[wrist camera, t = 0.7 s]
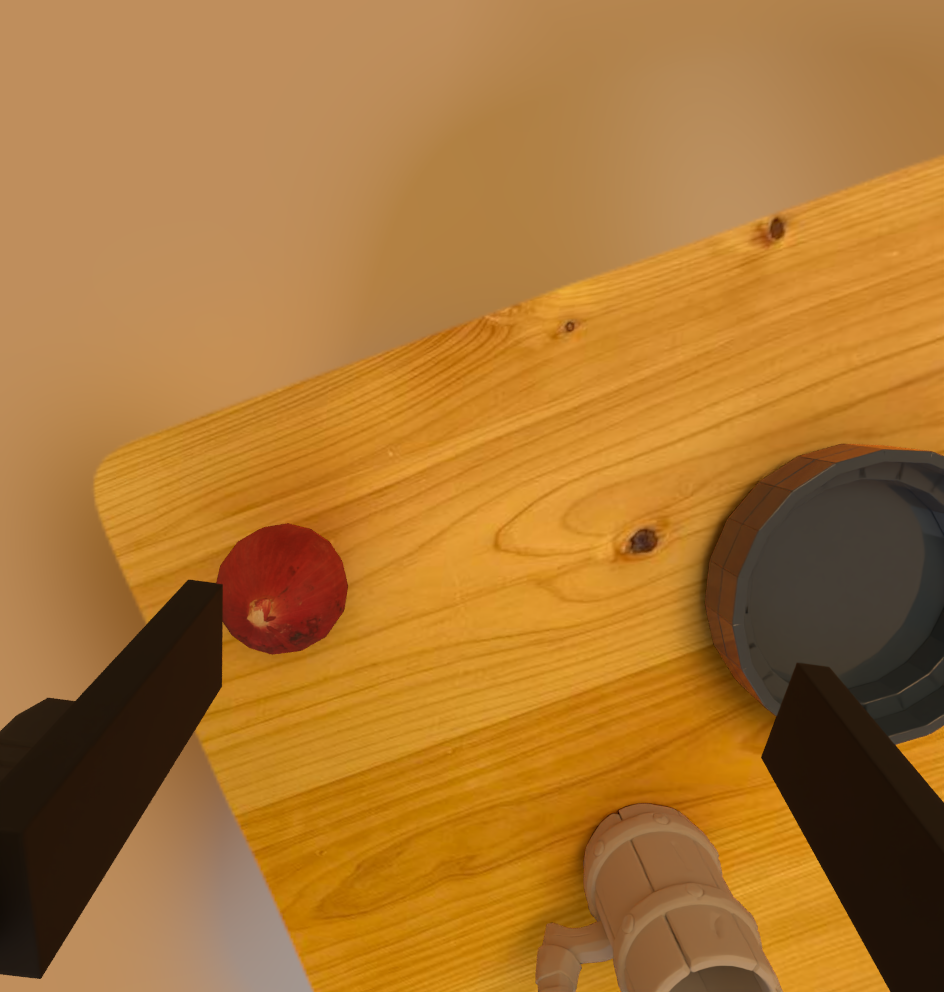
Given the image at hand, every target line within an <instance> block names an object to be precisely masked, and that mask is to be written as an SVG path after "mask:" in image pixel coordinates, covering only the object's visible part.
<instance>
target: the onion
mask: <svg viewBox="0 0 944 992" xmlns="http://www.w3.org/2000/svg"><path fill="white" fill-rule="evenodd" d="M216 583H217V584H223V623H224V624H225V626H226V627H227V629H228V630H229V632H230V633H231V635H232V636H234V637H235V638H236V639H238V640H239V641H241V642H242V643H243V644H245V645H246V646H248V647H249V648H251V649H255V650H258V651H262V652H265V653H268V654H272V655H273V654H281V653H288V652H296V651H301V650H303V649H305V648H307V647H309V646H310V645H312V644H314V643H316V642H317V641H319V640H321V639H323V638H325V637H326V636H327V634H328V633H329V632H330V630H331V629H332V627H333V626H334V624H335V623H336V622H337V620H338V619H339V617H340V616H341V614H342V613H343V611H344V608H345V602H346V596H347V589H348V584H347V579H346V575H345V571H344V566H343V562H342V560H341V558H340V557H339V555H338V554H337V552H336V551H335V549H334V548H333V546H332V545H331V543H330V542H329V541H328V540H326V539H325V538H323V537H322V536H320V535H319V534H317V533H316V532H314V531H313V530H311V529H308V528H304V527H300V526H296V525H292V524H281V525H275V526H269V527H264V528H262V529H259V530H257V531H256V532H254V533H252V534H250V535H249V536H247V537H245V538H244V539H242V540H240V541H238V542H237V544H236V545H235V546H234V548H233V549H232V550H231V552H230V553H229V554H228V556H227V557H226V559H225V560H224V561H223V563H222V564H221V566H220V569H219V574H218V578H217V582H216Z"/></svg>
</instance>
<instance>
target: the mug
mask: <svg viewBox="0 0 944 992" xmlns="http://www.w3.org/2000/svg"><path fill="white" fill-rule="evenodd" d="M619 814H620V816H621V817H620V816H619ZM619 814H614V813H613V814H611V815H610V816H608V817H607V818H606V819H605V820H604V821H602V822H601V823H600V825H599V826H598V828H597V829H596V831H595V832H594V834H593V835H592V837H591V839H590V841H589V843H588V844H587V846H586V850H585V855H584V860H583V865H584V890H585V895H586V898H587V901H588V907H589V910H590V912H591V914H592V915H593V916H594V917H595V919H596V920H597V922H595V923H593V924H591V925H589V926H586V927H581V928H567V927H564V926H561V925H558V924H555V923H549V924H547V925H546V930H545V935H544V940H543V945H542V946H540V947H539V948H538V953H537V964H536V984H537V985H538V992H575V991H576V988H577V982H578V976H579V973H580V970H581V969H582V967H581V965H580V964H583V963H595V962H602V961H607V960H610V959H612V958H613V962H614V968H615V972H616V976H617V981H618V985H619V988H620V990H621V992H783V991H782V989H781V986H780V984H779V981H778V978H777V976H776V974H775V972H774V971H773V969H772V967H771V965H770V963H769V961H768V960H767V958H766V956H765V954H764V952H763V950H762V944H761V939H760V935H759V932H758V931H757V930H758V926H757V924H756V922H755V920H754V918H753V916H752V915H751V913H750V912H748V911H747V910H746V909H745V908H744V907H743V906H742V905H741V904H740V903H739V902H738V901H737V900H736V899H735V898H734V897H733V895H732V894H731V892H730V890H729V888H728V886H727V884H726V883H725V881H724V879H723V877H722V870H721V865H720V861H719V859H718V857H719V855H718V852H717V850H716V848H715V847H714V845H713V844H712V843H710V841H709V839H708V838H707V836H706V835H705V834H704V833H703V832H702V831H701V830H700V829H699V828H698V827H696V826H695V825H694V824H693V823H691V822H690V820H689V819H688V818H687V817H686V816H684V815H683V814H682V813H680V812H679V811H678V812H677V811H676V810H675V809H673V808H669V807H665V806H659V805H653V804H635V805H631V806H627V807H625V808H622V809H620V810H619Z"/></svg>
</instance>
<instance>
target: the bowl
mask: <svg viewBox="0 0 944 992" xmlns="http://www.w3.org/2000/svg"><path fill="white" fill-rule="evenodd" d="M705 607H706V612H707V616H708V621H709V625H710V630H711V635H712V639H713V644H714V645H715V648H716V649H717V651H718V652H719V654H720V656H721V657H722V659H723V661H724V662H725V664H726V665H727V667H728V669H729V670H730V672H731V673H732V675H733V677H734V678H735V679H736V681H737V682H738V683H740V684H741V685H742V686H743V687H744V688H745V689H746V690H747V691H748V692H749V693H750V694H751V695H752V696H753V697H754V698H755V699H757V700H758V701H759V702H760V703H761V704H762V705H763V706H764V707H765V708H766V709H768V710H769V711H770V712H771V713H773V714H774V715H775V716H777V714H778V711H779V709H780V706H781V703H782V701H783V698H784V695H785V693H786V690H787V687H788V685H789V682H790V679H791V677H792V674H793V671H794V669H795V666H796V663H805V664H812V665H819V666H827V667H830V668H831V669H832V671H833V672H834V673H835V674H836V675H837V677H838V678H839V679H840V680H841V681H842V682H843V684H844V685H845V686H846V687H847V688H848V690H849V691H850V692H851V693H852V694H853V696H854V697H855V698H856V699H857V700H858V701H859V703H860V704H861V705H862V706H863V707H864V709H865V710H866V711H867V712H868V713H869V715H870V716H871V717H872V718H873V719H874V720H875V722H876V723H877V724H878V725H879V726H880V728H881V729H882V730H883V731H884V732H885V734H886V735H887V736H888V737H889V738H890V739H891V741H892V742H893V743H894V744H895V745H896V744H899V743H903V742H906V741H910V740H913V739H916V738H920V737H923V736H927V735H929V734H931V733H933V732H935V731H936V730H938V729H939V728H941V727H942V726H944V456H943V455H940V454H938V453H935V452H932V451H926V450H918V449H910V448H901V447H893V446H884V445H861V444H839V445H836V446H832V447H829V448H825V449H822V450H818V451H815V452H811V453H807V454H804V455H800V456H798V457H796V458H795V459H793V460H792V461H790V462H788V463H787V464H785V465H784V466H782V467H781V468H779V469H778V470H776V471H775V472H773V473H772V474H770V475H769V476H767V477H765V478H764V479H762V480H761V481H759V483H757V484H756V486H755V487H754V488H753V489H752V490H751V492H750V493H749V494H748V495H747V496H746V497H745V499H744V500H743V501H742V502H741V503H740V505H739V506H738V507H737V508H736V509H735V510H734V512H733V513H732V514H731V515H730V516H729V518H728V519H727V521H726V523H725V526H724V528H723V530H722V533H721V535H720V537H719V539H718V542H717V544H716V546H715V549H714V551H713V553H712V555H711V558H710V561H709V570H708V579H707V589H706V598H705Z"/></svg>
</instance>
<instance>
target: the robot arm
mask: <svg viewBox="0 0 944 992" xmlns="http://www.w3.org/2000/svg"><path fill="white" fill-rule="evenodd" d="M222 622H223V584H217V583H210V582H202V581H195V580H188V581H187V582H186V583H185V584H184V585H183V586H182V587H181V588H180V589H179V590H178V591H177V592H176V594H175V595H174V596H173V597H172V598H171V599H170V600H169V601H168V602H167V603H166V604H165V605H164V606H163V607H162V609H161V610H160V611H159V612H158V613H157V614H156V615H155V616H154V617H153V618H152V619H151V620H150V621H149V623H148V624H147V625H146V626H145V627H144V628H143V629H142V630H141V631H140V632H139V633H138V634H137V636H135V638H134V639H133V640H132V641H131V642H130V643H129V644H128V645H127V646H126V647H125V648H124V649H123V651H122V652H121V653H120V654H119V655H118V656H117V657H116V658H115V659H114V660H113V661H112V662H111V663H110V664H109V666H108V667H107V668H106V669H105V670H104V671H103V672H102V673H101V674H100V675H99V676H98V677H97V679H95V681H94V682H93V683H92V684H91V685H90V686H89V687H88V688H87V689H86V690H85V691H84V692H83V693H82V695H81V696H80V697H79V698H78V699H77V700H76V701H69V700H60V699H54V698H47V699H45V700H43V701H41V702H40V703H38V704H36V705H34V706H33V707H31V708H29V709H27V710H25V711H24V712H22V713H20V714H18V715H17V716H15V717H14V718H13V719H12V721H10V722H9V723H8V724H7V725H6V726H5V727H4V728H3V729H2V730H1V731H0V974H3V975H12V976H20V977H29V978H37V979H41V978H42V976H43V974H44V973H45V971H46V970H47V968H48V966H49V965H50V963H51V961H52V960H53V958H54V957H55V955H56V953H57V952H58V950H59V949H60V947H61V945H62V944H63V942H64V941H65V939H66V937H67V936H68V934H69V932H70V931H71V929H72V928H73V926H74V924H75V923H76V921H77V920H78V918H79V916H80V915H81V913H82V911H83V910H84V908H85V906H86V905H87V903H88V902H89V900H90V899H91V897H92V895H93V894H94V892H95V891H96V889H97V887H98V886H99V884H100V882H101V881H102V879H103V878H104V876H105V874H106V872H107V871H108V870H109V868H110V866H111V865H112V863H113V861H114V860H115V858H116V856H117V855H118V853H119V852H120V850H121V849H122V847H123V845H124V844H125V842H126V840H127V839H128V837H129V836H130V834H131V832H132V831H133V829H134V827H135V826H136V824H137V823H138V821H139V819H140V818H141V816H142V815H143V813H144V811H145V810H146V808H147V807H148V805H149V803H150V802H151V800H152V798H153V797H154V795H155V794H156V792H157V790H158V789H159V787H160V786H161V784H162V782H163V781H164V779H165V777H166V776H167V774H168V773H169V771H170V769H171V768H172V766H173V765H174V763H175V761H176V759H177V758H178V756H179V755H180V753H181V752H182V750H183V748H184V747H185V745H186V744H187V742H188V740H189V739H190V737H191V736H192V734H193V732H194V731H195V729H196V727H197V726H198V724H199V723H200V721H201V719H202V718H203V716H204V715H205V713H206V711H207V710H208V708H209V706H210V705H211V703H212V702H213V700H214V698H215V697H216V695H217V694H218V692H219V690H220V689H221V687H222ZM761 758H762V760H763V762H764V763H765V765H766V767H767V769H768V771H769V773H770V774H771V776H772V778H773V780H774V782H775V783H776V785H777V787H778V789H779V791H780V792H781V794H782V796H783V798H784V800H785V802H786V803H787V805H788V807H789V809H790V811H791V812H792V814H793V816H794V818H795V820H796V821H797V823H798V825H799V827H800V829H801V831H802V832H803V834H804V836H805V838H806V840H807V841H808V843H809V845H810V847H811V849H812V850H813V852H814V854H815V856H816V858H817V860H818V861H819V863H820V865H821V867H822V869H823V870H824V872H825V874H826V876H827V878H828V879H829V881H830V883H831V885H832V887H833V888H834V890H835V892H836V894H837V896H838V898H839V899H840V901H841V903H842V905H843V907H844V908H845V910H846V912H847V914H848V916H849V917H850V919H851V921H852V923H853V925H854V927H855V928H856V930H857V932H858V934H859V936H860V937H861V939H862V941H863V943H864V945H865V946H866V948H867V950H868V952H869V954H870V956H871V957H872V959H873V961H874V963H875V965H876V966H877V968H878V970H879V972H880V974H881V975H882V977H883V979H884V981H885V983H886V985H887V986H888V988H889V990H890V992H944V802H943V801H942V800H941V799H940V798H939V796H938V795H937V794H936V793H935V792H934V791H933V789H932V788H931V787H930V786H929V785H928V783H927V782H926V781H925V780H924V779H923V777H922V776H921V775H920V774H919V773H918V772H917V770H916V769H915V768H914V767H913V766H912V764H911V763H910V762H909V761H908V760H907V758H906V757H905V756H904V755H903V754H902V753H901V751H900V750H899V749H898V748H897V747H896V745H895V744H894V743H893V742H892V741H891V739H890V738H889V737H888V736H887V735H886V734H885V732H884V731H883V730H882V729H881V728H880V726H879V725H878V724H877V723H876V722H875V720H874V719H873V718H872V717H871V716H870V715H869V713H868V712H867V711H866V710H865V709H864V707H863V706H862V705H861V704H860V703H859V701H858V700H857V699H856V698H855V697H854V696H853V694H852V693H851V692H850V691H849V690H848V688H847V687H846V686H845V685H844V684H843V682H842V681H841V680H840V679H839V678H838V677H837V675H836V674H835V673H834V672H833V671H832V669H831V668H830V667H827V666H819V665H812V664H805V663H796V666H795V669H794V671H793V674H792V677H791V679H790V682H789V685H788V687H787V690H786V693H785V695H784V698H783V701H782V703H781V706H780V709H779V711H778V714H777V717H776V719H775V722H774V725H773V727H772V730H771V733H770V735H769V738H768V741H767V743H766V746H765V749H764V751H763V754H762V757H761Z"/></svg>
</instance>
